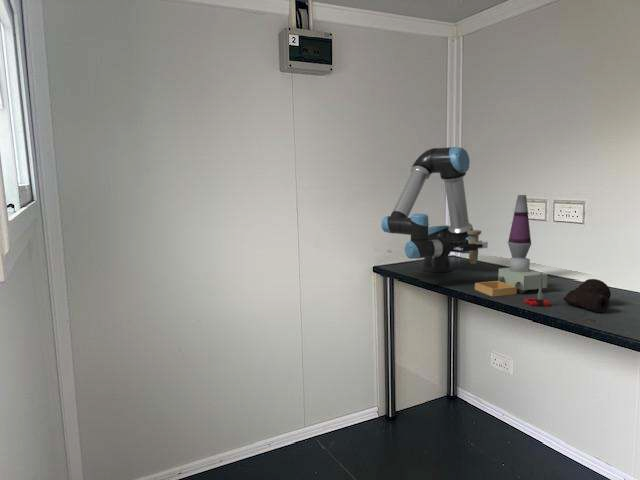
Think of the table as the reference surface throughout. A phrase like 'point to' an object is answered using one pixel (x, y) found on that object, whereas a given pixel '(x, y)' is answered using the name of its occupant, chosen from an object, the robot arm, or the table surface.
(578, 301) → the dark brown irregular lump
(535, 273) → the grey and tan pieces
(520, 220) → the lamp
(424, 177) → the robot arm
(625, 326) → the table surface
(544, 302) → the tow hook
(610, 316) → the table surface
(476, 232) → the handle
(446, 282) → the table surface
